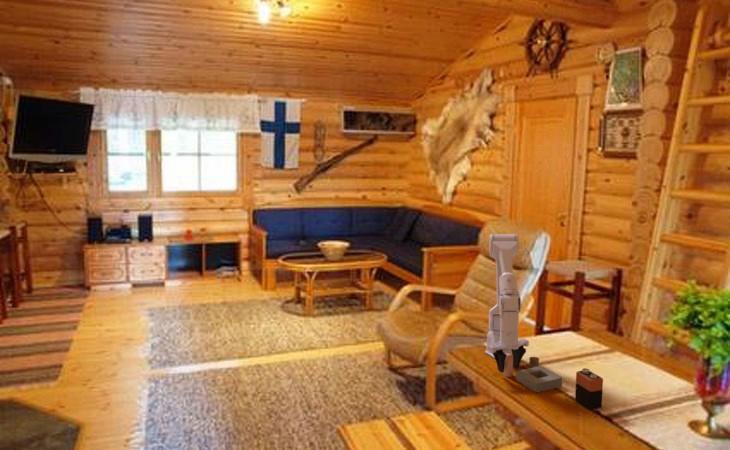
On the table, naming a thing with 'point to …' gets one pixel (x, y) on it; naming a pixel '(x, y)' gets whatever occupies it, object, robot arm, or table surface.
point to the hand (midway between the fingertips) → (508, 369)
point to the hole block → (538, 379)
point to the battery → (589, 389)
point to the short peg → (533, 362)
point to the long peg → (508, 365)
